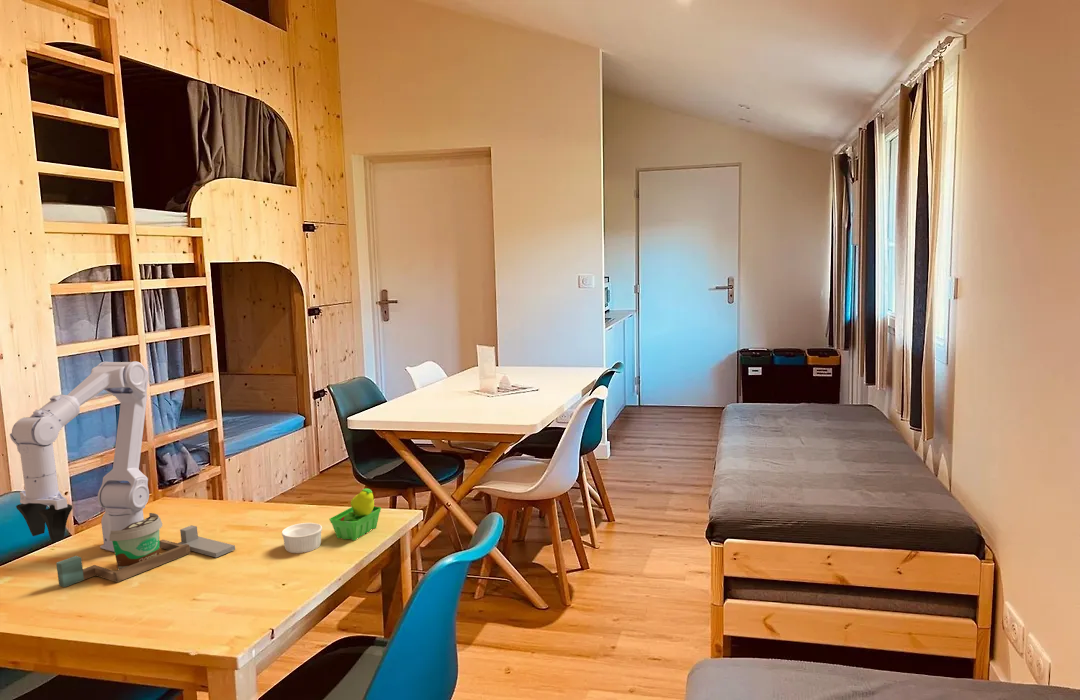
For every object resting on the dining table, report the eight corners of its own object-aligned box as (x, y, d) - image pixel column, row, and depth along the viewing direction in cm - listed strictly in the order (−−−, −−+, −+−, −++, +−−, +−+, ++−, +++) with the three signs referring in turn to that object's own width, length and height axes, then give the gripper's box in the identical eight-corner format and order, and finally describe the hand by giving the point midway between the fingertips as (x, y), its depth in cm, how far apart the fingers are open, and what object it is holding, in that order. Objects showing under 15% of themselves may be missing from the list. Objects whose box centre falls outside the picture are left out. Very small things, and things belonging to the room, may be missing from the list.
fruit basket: (358, 523, 188) (355, 479, 187) (388, 527, 185) (385, 482, 184) (329, 540, 178) (325, 494, 177) (360, 544, 175) (356, 497, 173)
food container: (137, 578, 160) (132, 533, 159) (113, 576, 162) (108, 531, 161) (178, 555, 172) (174, 513, 171) (155, 553, 174) (151, 511, 172)
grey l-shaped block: (177, 547, 176) (176, 530, 176) (197, 539, 181) (195, 523, 180) (216, 557, 169) (214, 540, 169) (235, 549, 174) (233, 532, 173)
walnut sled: (59, 585, 158) (56, 562, 157) (163, 546, 178) (161, 525, 177) (85, 594, 152) (82, 571, 152) (190, 553, 173) (188, 532, 172)
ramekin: (329, 539, 178) (327, 522, 178) (314, 554, 170) (312, 536, 169) (293, 539, 179) (291, 522, 179) (276, 554, 170) (274, 536, 170)
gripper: (0, 475, 156) (9, 538, 158) (37, 483, 148) (45, 549, 150) (37, 466, 162) (45, 527, 164) (74, 474, 154) (82, 537, 156)
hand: (48, 537), depth 157 cm, fingers open, 7 cm apart
